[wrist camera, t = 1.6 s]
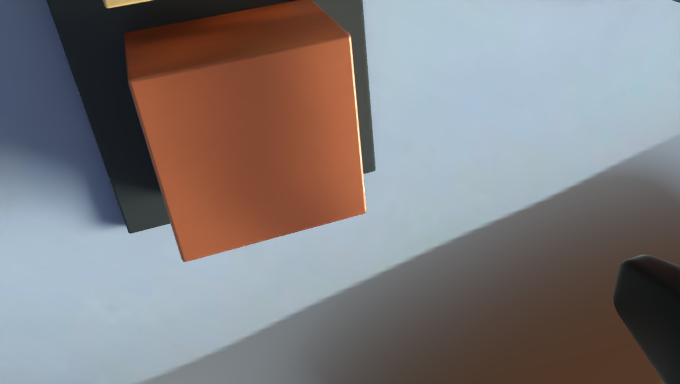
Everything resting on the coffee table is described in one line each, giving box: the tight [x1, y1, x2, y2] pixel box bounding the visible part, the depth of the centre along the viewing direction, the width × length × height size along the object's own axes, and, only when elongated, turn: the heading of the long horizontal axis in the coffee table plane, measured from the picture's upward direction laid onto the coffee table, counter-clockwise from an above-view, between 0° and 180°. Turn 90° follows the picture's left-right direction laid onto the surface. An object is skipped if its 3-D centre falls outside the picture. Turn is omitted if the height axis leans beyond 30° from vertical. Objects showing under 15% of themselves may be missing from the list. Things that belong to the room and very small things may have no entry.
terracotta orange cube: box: [124, 0, 366, 262], centre depth 16 cm, size 5×5×4 cm
